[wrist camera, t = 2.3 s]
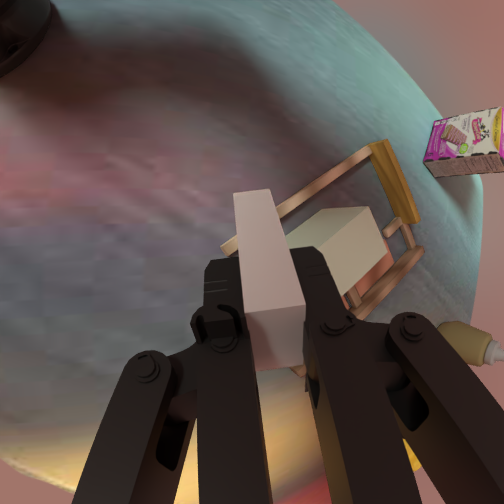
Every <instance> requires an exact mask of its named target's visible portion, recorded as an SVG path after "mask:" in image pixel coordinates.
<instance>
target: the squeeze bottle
mask: <svg viewBox="0 0 504 504" xmlns="http://www.w3.org/2000/svg"><path fill="white" fill-rule="evenodd" d="M437 330H438V331H439V332H440V333H441V334H442V335H443V337H444V338H445V339H446V340H447V341H448V342H449V344H450V345H451V346H452V347H453V348H454V349H455V351H456V352H457V353H458V354H459V355H460V356H461V358H462V359H463V360H464V361H465V362H466V364H470V365H475V366H482V365H483V364H484V363H485V364H488V365H493V364H494V363H495V361H504V350H503V349H501V348H500V346H501V344H500V342H498V341H495V340H493V339H492V336H491V334H489V333H487V332H484V331H482V330H479V329H477V328H474V327H472V326H470V325H467V324H465V323H462V322H460V321H453V322H445V323H442V324H441V325H440V326H439V327H438V328H437Z"/></svg>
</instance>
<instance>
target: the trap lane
mask: <svg viewBox="0 0 504 504" xmlns="http://www.w3.org/2000/svg"><path fill="white" fill-rule="evenodd" d="M368 155H369V157H370V160H371V162H372V164H373V166H374V168H375V170H376V172H377V175H378V177H379V179H380V181H381V183H382V186H383V188H384V190H385V192H386V195H387V197H388V199H389V202H390V204H391V207H392V209H393V212H394V214H395V216H396V217H395V218H394V219H393V220H392V221H391V222H390V223H389V224H388V225H387V226H386V227H385V228H384V229H383V230H382V233H383V235H384V237H390V236H391V235H392V234H393V233H394V232H395V231H396V230H397V229H398V228H399V227H400V229H401V232H402V234H403V237H404V240H405V243H406V245H407V248H408V250H407V251H406V252H405V253H404V254H403V255H402V256H401V257H400V258H399V259H398V260H397V262H396V263H395V264H394V261H393V258H392V255H391V253H390V250H389V248H388V245H387V243H386V240H383V241H384V244H385V246H386V249H387V251H388V252H387V253H386V254H385V255H384V256H383V257H382V258H381V259H380V260H379V261H378V262H377V263H376V264H375V265H374V266H373V267H372V268H371V269H370V270H369V271H368V272H367V273H366V274H365V275H364V276H363V277H362V278H361V279H360V280H359V281H358V282H357V283H355V284H354V285H353V286H352V287H351V288H350V289H349V290H348V291H347V292H346V295H347V297H348V299H349V301H350V303H351V305H352V307H351V308H350V309H349V306H348V303H347V301H346V299H345V297H344V295H343V296H342V297H341V298H342V300H343V303H344V305H345V307H346V309H347V310H348V309H349V311H350V312H352V313H353V314H354V315H355V316H356V318H358V319H360V320H363V319H364V318H365V317H366V316H367V315H368V314H369V313H370V312H371V311H372V310H373V309H374V308H375V307H376V306H377V305H378V304H379V303H380V302H381V301H382V300H383V299H384V298H385V297H386V295H387V294H388V293H389V292H390V291H391V290H392V289H393V288H394V287H395V286H396V285H397V283H398V282H399V281H400V280H401V279H402V278H403V277H404V276H405V275H406V273H407V272H408V271H409V270H410V269H411V268H412V267H413V265H414V264H415V263H416V262H417V261H418V260H419V258H420V257H421V256H422V255H423V254H424V252H425V251H424V248H423V246H416V244H415V241H414V238H413V236H412V233H411V230H410V227H409V225H408V224H417V223H418V222H419V221H420V220H421V219H420V216H419V213H418V210H417V208H416V205H415V202H414V200H413V197H412V194H411V192H410V189H409V187H408V184H407V182H406V179H405V177H404V175H403V172H402V170H401V168H400V165H399V163H398V161H397V158H396V156H395V154H394V152H393V150H392V147H391V145H390V143H389V141H388V139H385V140H381V141H377V142H373V143H369V144H368V145H366V146H365V147H363V148H362V149H360V150H359V151H357V152H356V153H354V154H353V155H351V156H350V157H348V158H347V159H345V160H344V161H342V162H341V163H339V164H338V165H336V166H335V167H333V168H332V169H330V170H329V171H327V172H326V173H324V174H323V175H322V176H320V177H319V178H317V179H316V180H314V181H313V182H311V183H310V184H308V185H307V186H306V187H304V188H303V189H301V190H300V191H298V192H297V193H295V194H294V195H292V196H291V197H290V198H288V199H287V200H285V201H284V202H282V203H281V204H279V205H278V206H277V207H276V210H277V213H278V216H279V219H280V218H282V217H283V216H284V215H286V214H287V213H289V212H290V211H291V210H293V209H294V208H295V207H297V206H298V205H300V204H301V203H302V202H304V201H305V200H307V199H308V198H309V197H311V196H312V195H314V194H315V193H316V192H318V191H319V190H321V189H322V188H323V187H325V186H326V185H328V184H329V183H330V182H332V181H333V180H335V179H336V178H337V177H339V176H340V175H342V174H343V173H344V172H346V171H347V170H349V169H350V168H352V167H353V166H354V165H356V164H357V163H359V162H360V161H361V160H363V159H364V158H366V157H367V156H368ZM220 248H221V249H222V251H223V252H224V254H225V255H226V256H229V255H230V254H232V253H233V252H235V251H236V250H237V249H238V241H237V235H235V236H234V237H233V238H231V239H230V240H228V241H227V242H226V243H224V244H223V245H221V246H220ZM393 264H394V265H393ZM392 265H393V266H392ZM391 266H392V267H391ZM390 267H391V268H390ZM389 268H390V269H389ZM388 269H389V270H388ZM387 270H388V271H387ZM386 271H387V272H386ZM385 272H386V273H385ZM384 273H385V274H384ZM383 274H384V275H383ZM382 275H383V276H382ZM381 276H382V277H381ZM380 277H381V278H380ZM379 278H380V279H379ZM378 279H379V280H378ZM377 280H378V281H377ZM376 281H377V282H376ZM375 282H376V283H375ZM374 283H375V284H374ZM373 284H374V285H373ZM372 285H373V286H372ZM371 286H372V288H371V289H370V290H369V291H368V292H367V293H366V294H365V295H364V296H363V297H361V296H362V295H363V294H364V293H365V292H366V291H367V290H368V289H369V288H370V287H371ZM360 297H361V298H360ZM289 368H290V369H291V370H292V371H293V372H294V373H295V374H297V375H298V376H299V377H302V376H303V375H305V374H306V366H305V362H304V357H303V365H297V366H290V367H289Z"/></svg>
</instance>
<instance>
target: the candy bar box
mask: <svg viewBox="0 0 504 504" xmlns="http://www.w3.org/2000/svg"><path fill="white" fill-rule="evenodd" d="M423 163H424V164H425V166H426V167H427V168H428V169H429V170H430V172H431V173H432V174H433V176H434V177H435V178H436V177H447V176H458V175H472V174H484V173H500V172H504V109H503V108H502V107H497V108H491V109H486V110H481V111H477V112H472V113H468V114H463V115H459V116H454V117H450V118H446V119H441V120H436V121H434V124H433V128H432V132H431V135H430V139H429V143H428V147H427V150H426V153H425V157H424V160H423Z"/></svg>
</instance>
